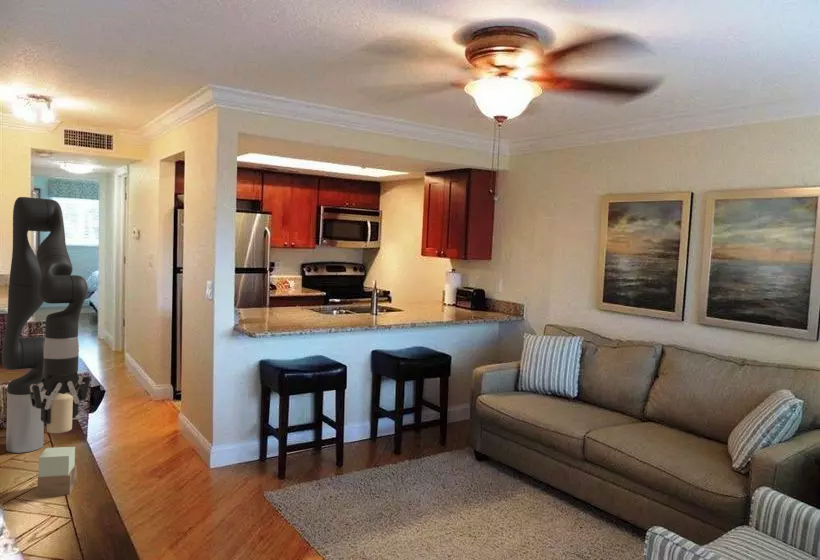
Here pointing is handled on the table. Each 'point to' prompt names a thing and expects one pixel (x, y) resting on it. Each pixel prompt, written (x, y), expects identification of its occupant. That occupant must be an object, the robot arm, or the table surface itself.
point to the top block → (56, 461)
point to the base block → (57, 484)
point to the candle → (61, 414)
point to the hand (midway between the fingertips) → (59, 420)
